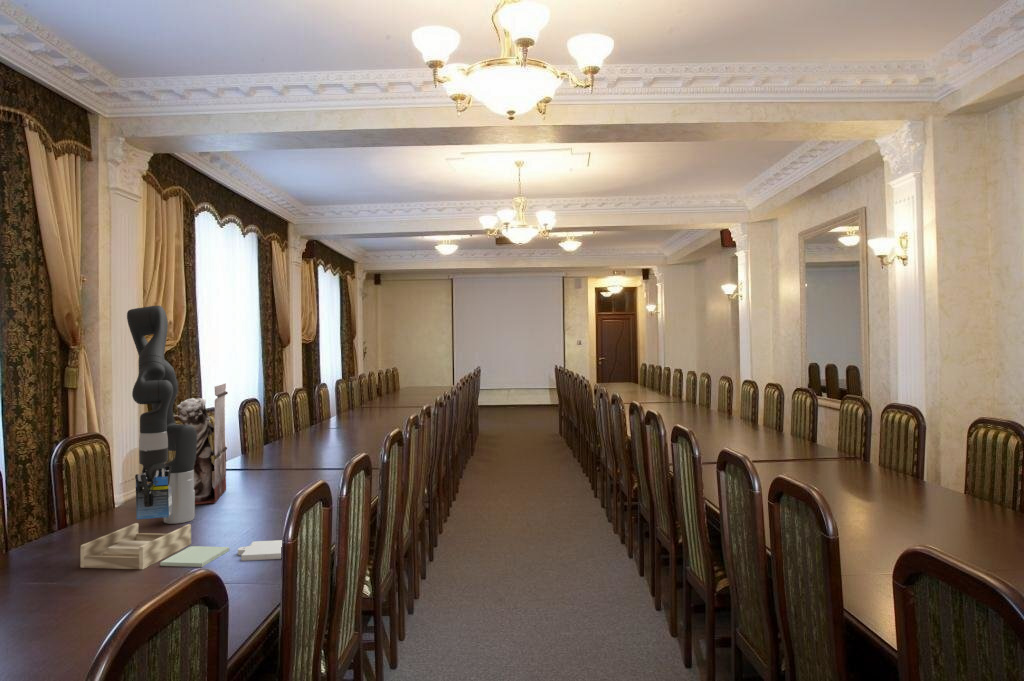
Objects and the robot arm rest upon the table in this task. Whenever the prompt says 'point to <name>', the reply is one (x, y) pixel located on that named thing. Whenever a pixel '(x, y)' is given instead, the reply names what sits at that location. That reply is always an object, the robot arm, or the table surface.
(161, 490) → the label tape cartridge
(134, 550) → the offcut stack
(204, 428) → the cherub statue
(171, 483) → the robot arm
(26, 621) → the table surface
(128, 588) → the table surface
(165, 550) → the wooden tray
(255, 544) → the mounting plate
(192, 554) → the pad
